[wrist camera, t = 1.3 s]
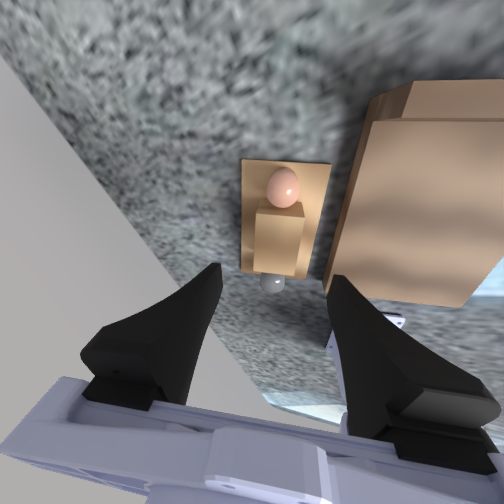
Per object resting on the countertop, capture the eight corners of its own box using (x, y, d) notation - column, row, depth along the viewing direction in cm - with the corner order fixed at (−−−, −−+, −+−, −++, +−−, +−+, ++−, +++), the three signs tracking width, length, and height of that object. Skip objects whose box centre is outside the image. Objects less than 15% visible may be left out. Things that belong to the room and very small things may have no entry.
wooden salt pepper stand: (304, 274, 25) (308, 304, 20) (242, 267, 26) (234, 294, 21) (329, 163, 18) (343, 173, 14) (243, 158, 19) (231, 166, 14)
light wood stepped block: (447, 294, 22) (494, 342, 17) (322, 281, 24) (331, 321, 19) (594, 96, 13) (792, 73, 8) (370, 98, 15) (413, 80, 10)
